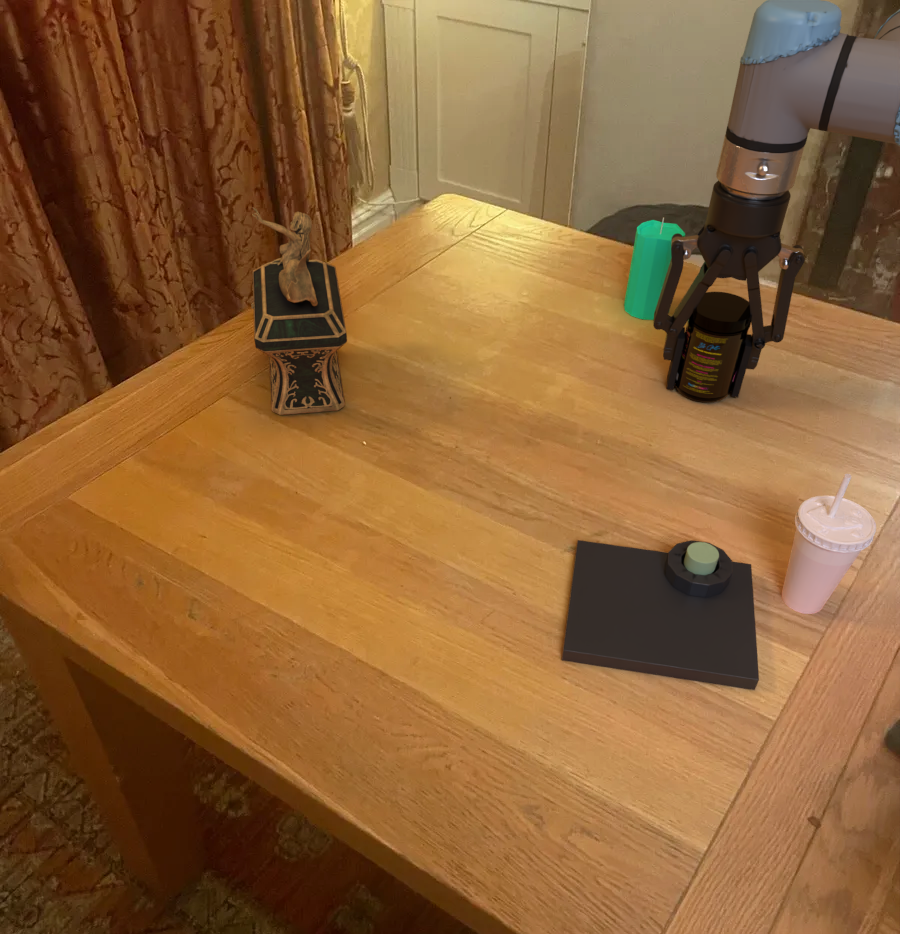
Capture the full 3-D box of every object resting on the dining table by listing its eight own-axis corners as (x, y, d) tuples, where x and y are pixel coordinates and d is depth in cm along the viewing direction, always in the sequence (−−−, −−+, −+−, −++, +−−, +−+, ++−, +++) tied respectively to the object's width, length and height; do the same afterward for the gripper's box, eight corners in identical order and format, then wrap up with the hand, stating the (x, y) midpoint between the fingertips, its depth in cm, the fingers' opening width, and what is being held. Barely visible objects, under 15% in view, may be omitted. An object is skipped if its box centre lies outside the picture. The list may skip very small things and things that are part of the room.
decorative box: (261, 347, 110) (237, 181, 96) (340, 341, 112) (328, 177, 98) (265, 444, 97) (238, 267, 83) (355, 436, 98) (343, 261, 84)
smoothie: (768, 568, 85) (814, 446, 75) (839, 583, 84) (895, 461, 74) (764, 616, 81) (813, 493, 71) (839, 632, 79) (899, 510, 69)
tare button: (714, 556, 82) (718, 544, 81) (715, 577, 80) (719, 565, 79) (683, 552, 82) (687, 539, 81) (683, 573, 80) (687, 560, 79)
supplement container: (734, 407, 104) (758, 323, 96) (675, 403, 104) (694, 319, 96) (726, 375, 108) (749, 293, 101) (670, 371, 109) (688, 289, 101)
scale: (747, 572, 85) (755, 548, 82) (754, 690, 75) (764, 667, 73) (576, 548, 86) (580, 524, 84) (561, 660, 76) (565, 637, 74)
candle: (665, 323, 117) (684, 231, 108) (619, 315, 118) (634, 223, 109) (672, 302, 121) (691, 211, 112) (628, 294, 122) (643, 204, 113)
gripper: (651, 190, 88) (616, 394, 104) (861, 210, 86) (790, 415, 102) (654, 162, 93) (619, 360, 110) (851, 179, 91) (785, 379, 107)
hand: (702, 386), depth 106 cm, fingers closed on supplement container, 7 cm apart
